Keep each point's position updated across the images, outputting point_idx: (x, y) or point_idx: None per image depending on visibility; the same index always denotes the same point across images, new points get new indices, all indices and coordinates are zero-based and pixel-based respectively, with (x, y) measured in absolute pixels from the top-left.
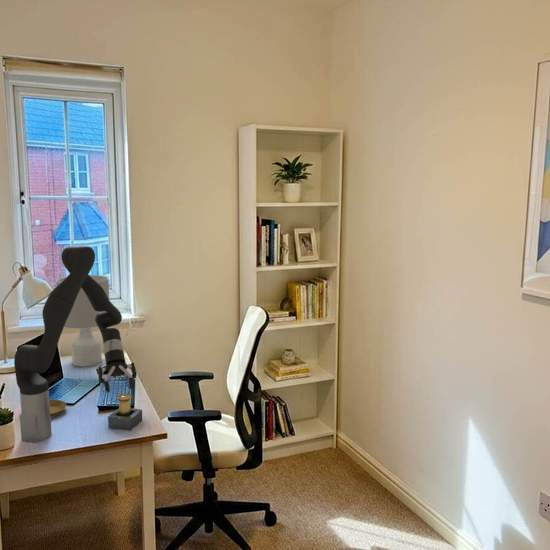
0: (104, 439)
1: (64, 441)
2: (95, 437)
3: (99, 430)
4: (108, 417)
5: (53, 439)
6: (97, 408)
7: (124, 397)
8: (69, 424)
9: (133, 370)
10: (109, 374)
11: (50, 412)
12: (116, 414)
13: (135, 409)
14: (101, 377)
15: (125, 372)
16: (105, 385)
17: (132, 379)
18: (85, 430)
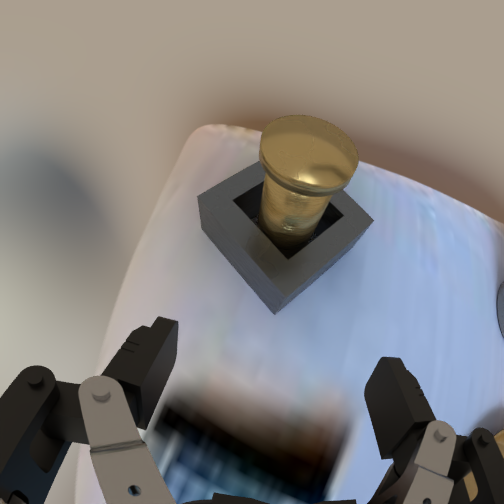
0: (373, 181)
1: (468, 241)
2: (398, 209)
3: (383, 249)
4: (369, 220)
5: (490, 272)
6: (335, 486)
7: (316, 127)
8: (460, 362)
9: (10, 432)
10: (433, 482)
11: (475, 485)
12: (330, 228)
13: (225, 215)
14: (487, 455)
15: (146, 466)
16: (423, 402)
17: (105, 372)
18: (424, 279)
